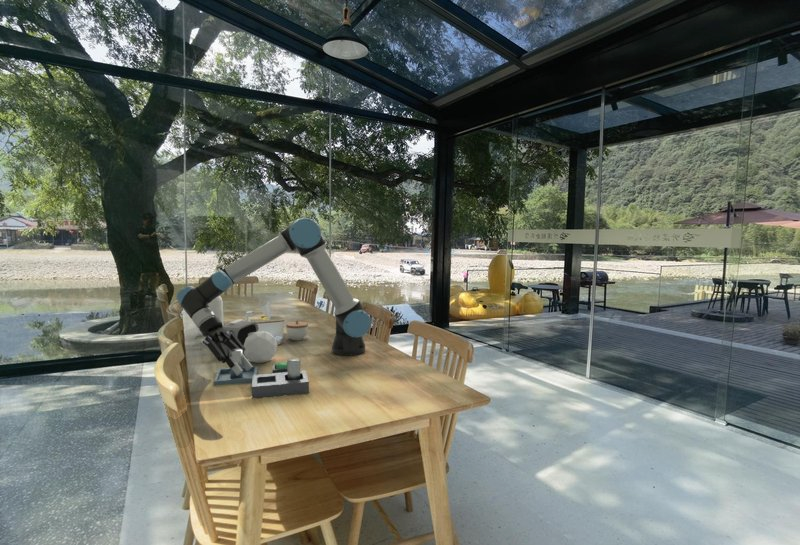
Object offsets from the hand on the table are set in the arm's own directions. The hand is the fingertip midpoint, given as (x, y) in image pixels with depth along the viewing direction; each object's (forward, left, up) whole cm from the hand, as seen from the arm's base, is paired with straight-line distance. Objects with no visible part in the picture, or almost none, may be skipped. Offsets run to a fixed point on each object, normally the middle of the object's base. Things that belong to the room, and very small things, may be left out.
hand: (244, 370), depth 152 cm
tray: (+3, -2, -4) cm, 5 cm away
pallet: (-12, +13, -4) cm, 18 cm away
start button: (-13, 0, -2) cm, 13 cm away
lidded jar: (-22, -57, -4) cm, 61 cm away
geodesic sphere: (-5, -21, -4) cm, 22 cm away
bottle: (+17, -63, -4) cm, 66 cm away
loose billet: (+3, -2, -3) cm, 5 cm away
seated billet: (-17, +13, -4) cm, 21 cm away
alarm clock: (+5, -43, -4) cm, 44 cm away
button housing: (-13, 0, -4) cm, 13 cm away
